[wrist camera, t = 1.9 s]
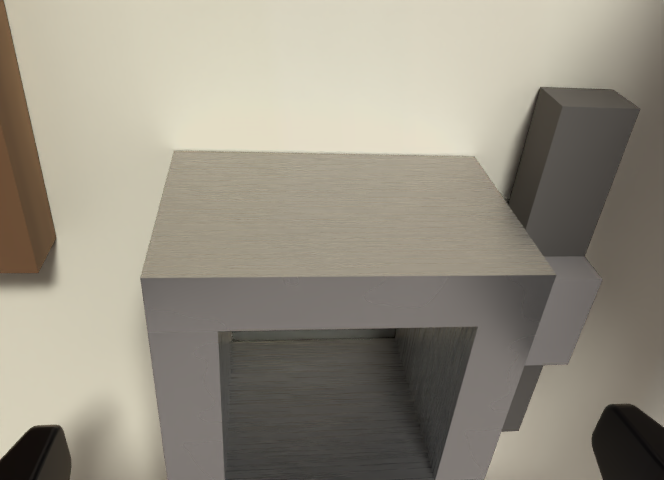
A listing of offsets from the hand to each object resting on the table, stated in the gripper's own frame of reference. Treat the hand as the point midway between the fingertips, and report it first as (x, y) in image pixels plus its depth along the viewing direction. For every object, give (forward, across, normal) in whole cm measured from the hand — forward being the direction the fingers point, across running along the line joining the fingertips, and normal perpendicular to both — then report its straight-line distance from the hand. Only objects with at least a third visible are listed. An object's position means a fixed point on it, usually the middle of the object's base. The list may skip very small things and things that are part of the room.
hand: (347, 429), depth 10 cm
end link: (+4, 0, 0) cm, 4 cm away
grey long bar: (+4, -5, 0) cm, 6 cm away
